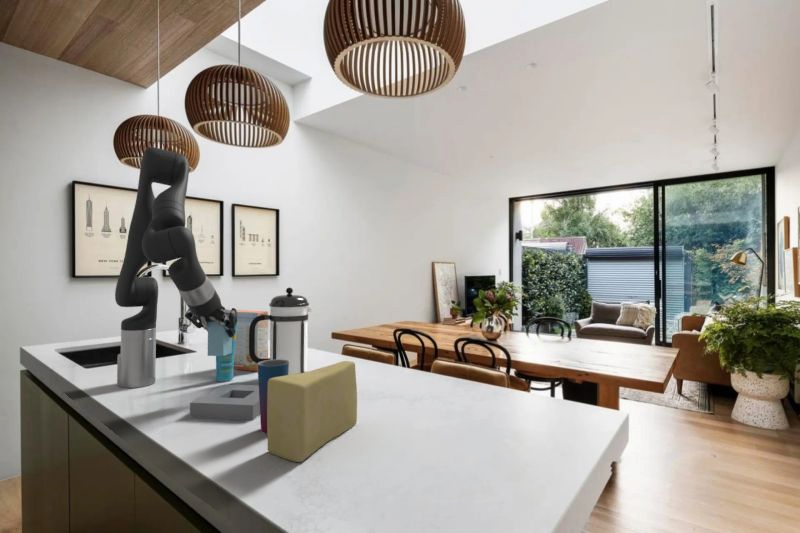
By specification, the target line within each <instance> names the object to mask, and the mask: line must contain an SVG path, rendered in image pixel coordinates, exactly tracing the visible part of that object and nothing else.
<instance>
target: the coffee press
mask: <svg viewBox="0 0 800 533" xmlns="http://www.w3.org/2000/svg"><path fill="white" fill-rule="evenodd" d="M293 292H294V290H293V288H292V287H287V288H286V290H285V293H286V294H283V295H276V296H274V297H272V299H271V301H270V303H269V308H270V314H268V315H260V316H257V317H255V318H254V319H253V321H252V322H251V324H250V329H249V355H250V358H251V359H252V360H253V361H254V362H255V363H259V362H261V361H265V360H273V359H281V360H287V361H289V370H288V375H293V374H299V373H304V372H307V369H308V327H309V326H308V320H309V312H314V310H313V308H312V307H311V305H310V303H309V302H308V299H307V298H306V297H305V296H303V295H298V294H297V295H296V294H293ZM261 320H268V321H269V325H270V328H269V329H270V330H269V334H270V336H269V340H270V341H269V342H270V343H269V357H268V359H261V358H258V357H257V356H256V354H255V326H256V324H257V323H258V322H259V321H261Z"/></svg>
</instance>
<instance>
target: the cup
mask: <svg viewBox="0 0 800 533" xmlns="http://www.w3.org/2000/svg"><path fill="white" fill-rule="evenodd" d="M288 370H289V361H287V360H281V359H273V360H265V361H261V362H259V363H258V371H257V376H258V377H257V379H258V386H259V401H260V415H259V416H260V431H261V433H262V434H267V392H268V380H269V379H270V378H274V377H280V376H286V375H288Z"/></svg>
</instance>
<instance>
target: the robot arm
mask: <svg viewBox="0 0 800 533" xmlns="http://www.w3.org/2000/svg"><path fill="white" fill-rule="evenodd" d="M139 168H140V170H139V177H138V184H137V191H136V192H137V193H136V199H135V203H134V208H133V212H132V216H131V221H130V224H129V230H128V234H127V241H126V249H125V253H124V258H123V262H122V265H121V269H120V272H119V275H118V278H117V282H116V286H115V292H114V299H115V303H116V305H118V306H119V307H120V308H138V307H142V308H141V310H140V311H139V312H138V313H136V314H134V315H133V316H129V317H127V318H124V319H123V320H122V321H121V322H120V353H118V354H117V356H116V357H117V358H116V359H117V365H116V366H117V367H116V368H117V369H116V371H117V372H116V373H117V374H116V377H117V379H116V386H118V387H121V388H124V389H125V388H126V389H131V388H141V387H142V388H143V387H146V386H150V385H153V384H155V383H156V361H157V360H156V359H157V358H156V356H157V355H156V354H157V353H156V351H157V347H156V346H157V342H156V341H157V338H156V337H157V319H158V318H157V317H158V300H159V284H158V280H157V279H156V278H155V277H151V276H137V275H138V273H140V271H141V269H142V268H143V267H144V266H145V265H146V264H147V263H149V262H151V263H153V264H163V263H167V262H171V261H173V262H172V263H171V264H170V265H169V267H168V269H167V272H168V276H169V278H170V279H171V280H172V282H173V284H174V285H175V287H176V288H177V290H178V292H179V296H180V297H181V298H182V300H183V301H184V303H185V304H186V307H188V308H187V309H186V310H187V311H186V312H185V315H184V317H185V318H186V319H187V320H188V321H189V322H190V323H191V324H193V326H195V327H196V328H197V329H202V328H203V330H205V331H207V332H208V323H209V322H216V323H217V324H218V325H219V326H222V327H223V328H224V329H225V331H226V332H227V334H228V336H229V337H233V336H234V334H235V329H234V328H235V325H236V323H237V311H236V310H237V309H236V308H234V307H232V308H231V309H226V308H225V306H223V305H222V303H221V297H220V296H219V294H218V292H217V291H216V289H215V287H214V285H213V283H212V281H211V280H210V279H209V277H208V276H207V275H206V273H205V271H204V269H203V267H202V265H201V263H200V261H199V259H198V253H197V249H196V241H195V236H194V233H193V232H192V231H191V230H190V229H189V228H188V227H186V211H185V205H186V204H185V203H186V196H187V191H188V183H189V174H190V164H189V159H188V157H186V156H185V155H183V154H181V153H177V152H174V151H170V150H167V149H164V148H159V147H155V146H148V147H146V148H145V150H144V152H143V154H142V158H141V162H140V167H139ZM153 183H156V184H160V185H165V186H169V187H168V188H167V189H164V190H163V191H162V192H160V193H159V194H158V195H157V196H155V195H154V191H153ZM223 316H224V317H223ZM222 317H223V318H222ZM225 322H227V324H225Z"/></svg>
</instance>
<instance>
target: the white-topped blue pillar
mask: <svg viewBox="0 0 800 533" xmlns="http://www.w3.org/2000/svg"><path fill="white" fill-rule="evenodd" d="M223 317H224V316H223ZM223 317H222V318H223ZM225 324H227V322H225ZM230 353H232V337H229V336H228V334H227V332H226V331H225V329H224V328H223V327H222V326H219V325H218V324H217V323H216V322H209V323H208V331H207V356H208V357H209V356H210V357H216V356H225V355H227V354H230Z"/></svg>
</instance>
